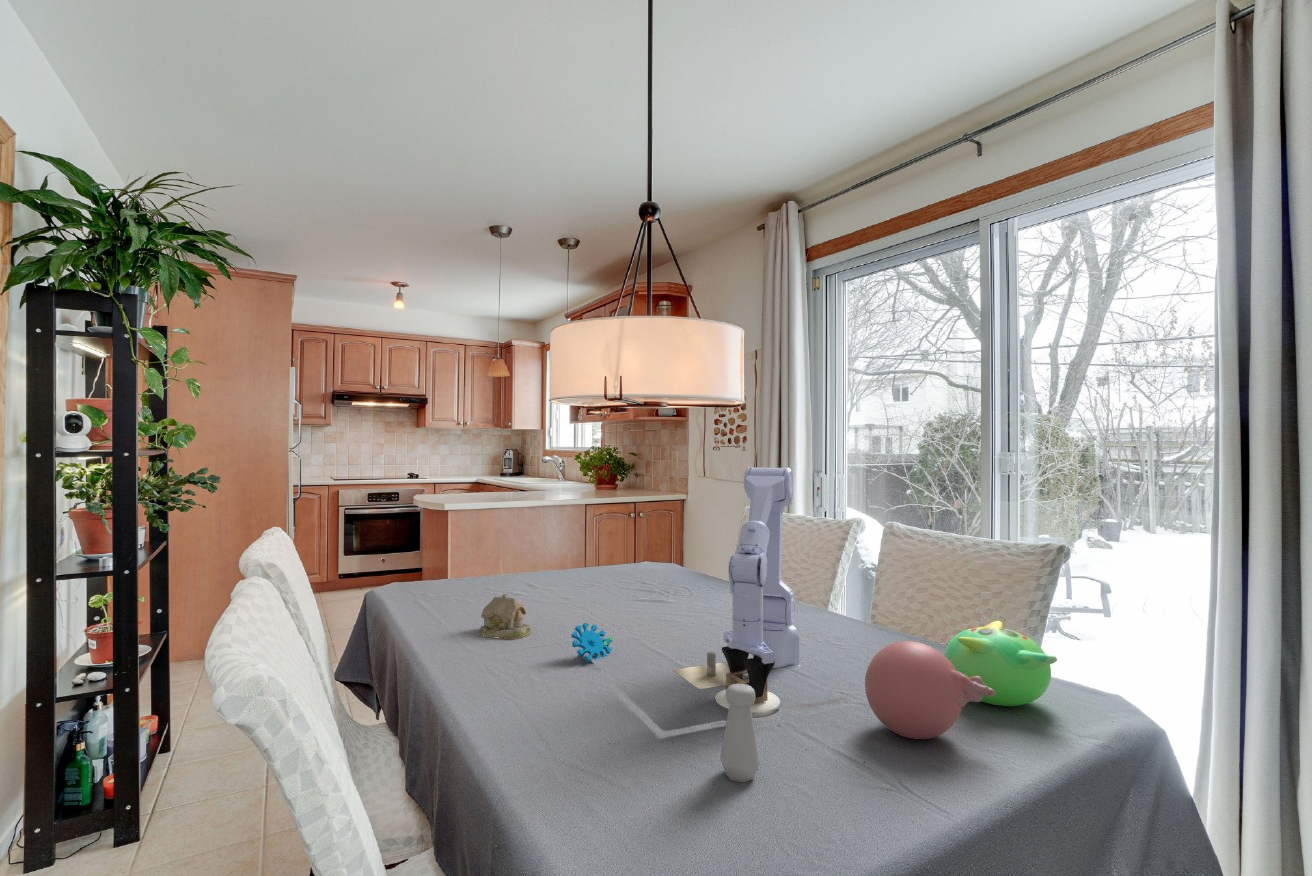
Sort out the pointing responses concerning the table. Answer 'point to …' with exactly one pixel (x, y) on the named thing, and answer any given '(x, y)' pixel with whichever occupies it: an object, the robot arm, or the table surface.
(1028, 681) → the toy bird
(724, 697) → the cream plate
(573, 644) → the gear
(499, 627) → the ceramic model
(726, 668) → the birch stand
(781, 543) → the robot arm
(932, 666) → the balloon
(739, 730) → the salt shaker
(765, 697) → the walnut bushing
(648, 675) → the table surface
